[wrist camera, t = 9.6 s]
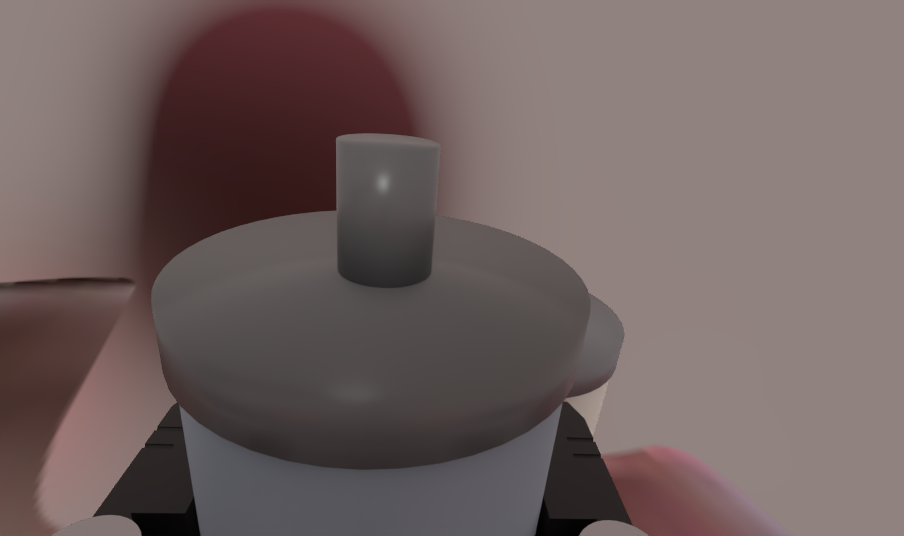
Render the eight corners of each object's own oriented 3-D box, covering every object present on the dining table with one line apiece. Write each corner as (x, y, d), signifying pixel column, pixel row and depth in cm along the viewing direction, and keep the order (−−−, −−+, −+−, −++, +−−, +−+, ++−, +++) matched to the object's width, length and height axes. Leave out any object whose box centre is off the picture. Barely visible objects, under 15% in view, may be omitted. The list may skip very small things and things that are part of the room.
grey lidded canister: (191, 941, 8) (-48, 173, 3) (278, 608, 13) (235, 104, 8) (510, 922, 8) (728, 223, 4) (477, 607, 13) (552, 129, 8)
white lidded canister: (406, 612, 20) (436, 303, 14) (410, 471, 26) (431, 221, 21) (581, 613, 20) (677, 318, 15) (542, 475, 27) (598, 234, 21)
